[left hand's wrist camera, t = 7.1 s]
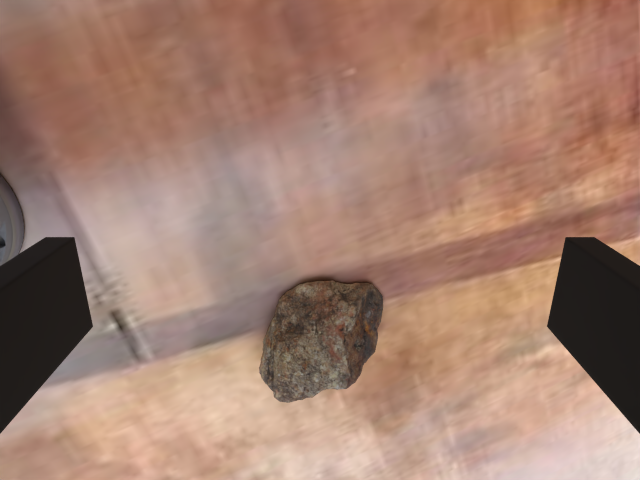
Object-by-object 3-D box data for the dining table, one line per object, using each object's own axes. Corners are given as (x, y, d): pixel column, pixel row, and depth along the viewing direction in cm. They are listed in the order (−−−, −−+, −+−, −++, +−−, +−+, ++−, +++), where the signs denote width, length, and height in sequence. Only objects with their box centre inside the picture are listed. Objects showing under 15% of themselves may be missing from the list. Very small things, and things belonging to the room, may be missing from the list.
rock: (384, 343, 54) (378, 267, 50) (402, 391, 46) (396, 305, 42) (262, 361, 53) (247, 286, 50) (259, 413, 45) (240, 328, 42)
